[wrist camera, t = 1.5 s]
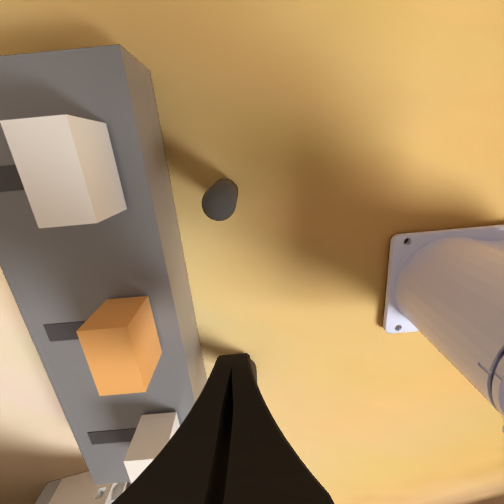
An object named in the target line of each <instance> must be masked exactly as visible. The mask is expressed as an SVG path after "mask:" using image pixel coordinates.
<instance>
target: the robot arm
mask: <svg viewBox="0 0 504 504" xmlns="http://www.w3.org/2000/svg"><path fill="white" fill-rule="evenodd" d="M406 238H408V242H407V243H404V240H405V239H406ZM397 325H399V326H398V327H396V326H397ZM395 327H396V328H395ZM383 328H384V330H385V331H386V332H387V333H402V332H413V331H420V332H421V333H422V334H423V335H424V336H425V337H426V338H427V339H428V340H429V341H430V342H431V343H432V344H433V345H434V346H435V347H436V348H437V350H438V351H439V352H440V353H441V354H442V355H443V356H444V357H445V358H446V359H447V360H448V361H449V362H450V363H451V364H452V365H453V366H454V367H455V368H456V369H457V370H458V371H459V372H460V373H461V374H462V375H463V376H464V377H465V378H466V379H467V380H468V381H469V382H470V383H471V384H472V385H473V386H474V387H475V388H476V389H477V390H478V391H479V392H480V393H481V394H482V395H483V396H484V397H485V398H486V399H487V400H488V401H489V402H490V403H491V404H492V405H493V406H494V408H495V409H496V410H497V411H498V412H499V413H500V414H501V415H502V417H503V420H504V224H502V225H491V226H480V227H469V228H458V229H447V230H436V231H425V232H414V233H403V234H396V235H394V236H393V237H392V239H391V242H390V253H389V265H388V276H387V288H386V299H385V310H384V322H383ZM502 431H503V432H504V426H503V430H502ZM111 504H334V502H333V500H332V498H331V496H330V495H329V493H328V492H327V491H326V490H325V489H324V487H323V486H322V485H321V484H320V483H319V482H318V480H317V479H316V478H315V477H314V476H313V475H312V473H311V472H310V471H309V470H308V468H307V467H306V466H305V464H304V463H303V462H302V461H301V459H300V458H299V457H298V455H297V454H296V452H295V451H294V449H293V448H292V447H291V445H290V444H289V442H288V441H287V440H286V438H285V437H284V435H283V433H282V432H281V430H280V429H279V427H278V425H277V424H276V422H275V420H274V418H273V417H272V415H271V413H270V411H269V409H268V407H267V405H266V403H265V401H264V399H263V397H262V395H261V393H260V390H259V388H258V385H257V383H256V380H255V378H254V375H253V372H252V368H251V364H250V355H248V354H247V353H244V354H233V355H222V356H219V357H218V358H217V360H216V363H215V365H214V368H213V370H212V372H211V374H210V376H209V378H208V380H207V382H206V384H205V386H204V388H203V390H202V392H201V393H200V395H199V397H198V399H197V400H196V402H195V404H194V405H193V407H192V408H191V410H190V412H189V413H188V415H187V416H186V418H185V419H184V421H183V422H182V424H181V425H180V427H179V428H178V429H177V431H176V432H175V433H174V435H173V436H172V437H171V439H170V440H169V441H168V443H167V444H166V445H165V446H164V448H163V449H162V450H161V451H160V453H159V454H158V455H157V456H156V457H155V458H154V460H153V461H152V462H151V463H150V464H149V465H148V466H147V467H146V468H145V470H144V471H143V472H142V473H141V474H140V475H139V476H138V477H137V478H136V479H135V481H134V482H133V483H132V484H131V485H130V486H129V487H128V488H127V489H126V490H125V491H124V492H123V493H122V494H121V495H120V496H118V497H117V498H116V499H115V500H114V501H113V502H112V503H111Z"/></svg>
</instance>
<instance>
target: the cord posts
mask: <svg viewBox="0 0 504 504" xmlns="http://www.w3.org/2000/svg"><path fill="white" fill-rule="evenodd" d="M237 196H238V188H237V186H236V184H235V183H234V182H233V181H232V180H230V179H220V180H218V181H217V182H216V183H215V184H214V185H213V186H212V187H211V188H210V189H209V190H208V191H207V192H206V193H205V194H204V196H203V199H202V208H203V211H204V213H205V214H206V215H207V216H208V217H209V218H211V219H213V220H216V221H222V220H225V219H228V218H229V217H230V216H231V215H232V214H233V212H234V210H235V207H236V202H237ZM250 364H251V368H252V372H253V375H254V378H255V380H256V383H257V371H256V365H255V363H254V362H253V361H252V360H251V359H250Z"/></svg>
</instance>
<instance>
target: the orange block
mask: <svg viewBox="0 0 504 504" xmlns="http://www.w3.org/2000/svg"><path fill="white" fill-rule="evenodd" d="M76 332H77V335H78V338H79V341H80V343H81V346H82V349H83V352H84V354H85V357H86V360H87V363H88V365H89V368H90V371H91V374H92V376H93V379H94V382H95V385H96V387H97V390H98V393H99V396H106V395H118V394H129V393H141V392H146V390H147V387H148V385H149V383H150V380H151V378H152V375H153V373H154V371H155V368H156V366H157V363H158V361H159V359H160V356H161V354H162V350H161V346H160V342H159V338H158V334H157V330H156V326H155V322H154V317H153V313H152V309H151V305H150V301H149V297H148V296H139V297H128V298H117V299H106V301H105V302H104V303H103V304H102V305H101V306H100V307H99V308H98V309H97V310H96V311H95V312H94V313H93V314H92V315H91V316H90V317H89V318H88V319H87V321H86V322H85V323H84V324H83V325H82V326H81V327H80V328H79V329H78V330H77V331H76Z"/></svg>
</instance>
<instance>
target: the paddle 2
mask: <svg viewBox="0 0 504 504" xmlns="http://www.w3.org/2000/svg"><path fill="white" fill-rule="evenodd" d="M179 427H180V424H179V420H178V416H177V412H171V413H160V414H148V415H142V416H141V418H140V421H139V423H138V426H137V428H136V431H135V433H134V436H133V438H132V441H131V443H130V446H129V448H128V451H127V454H126V456H125V459H124V461H123V462H124V465H125V467H126V470H127V473H128V476H129V478H130V481H131V484H132V483H133V482H134V481H135V479H136V478H137V477H138V476H139V475H140V474H141V473H142V472H143V471H144V470H145V468H146V467H147V466H148V465H149V464H150V463H151V462H152V461H153V460H154V458H155V457H156V456H157V455H158V454H159V453H160V451H161V450H162V449H163V448H164V446H165V445H166V444H167V443H168V441H169V440H170V439H171V437H172V436H173V435H174V433H175V432H176V431H177V429H178V428H179Z"/></svg>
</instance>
